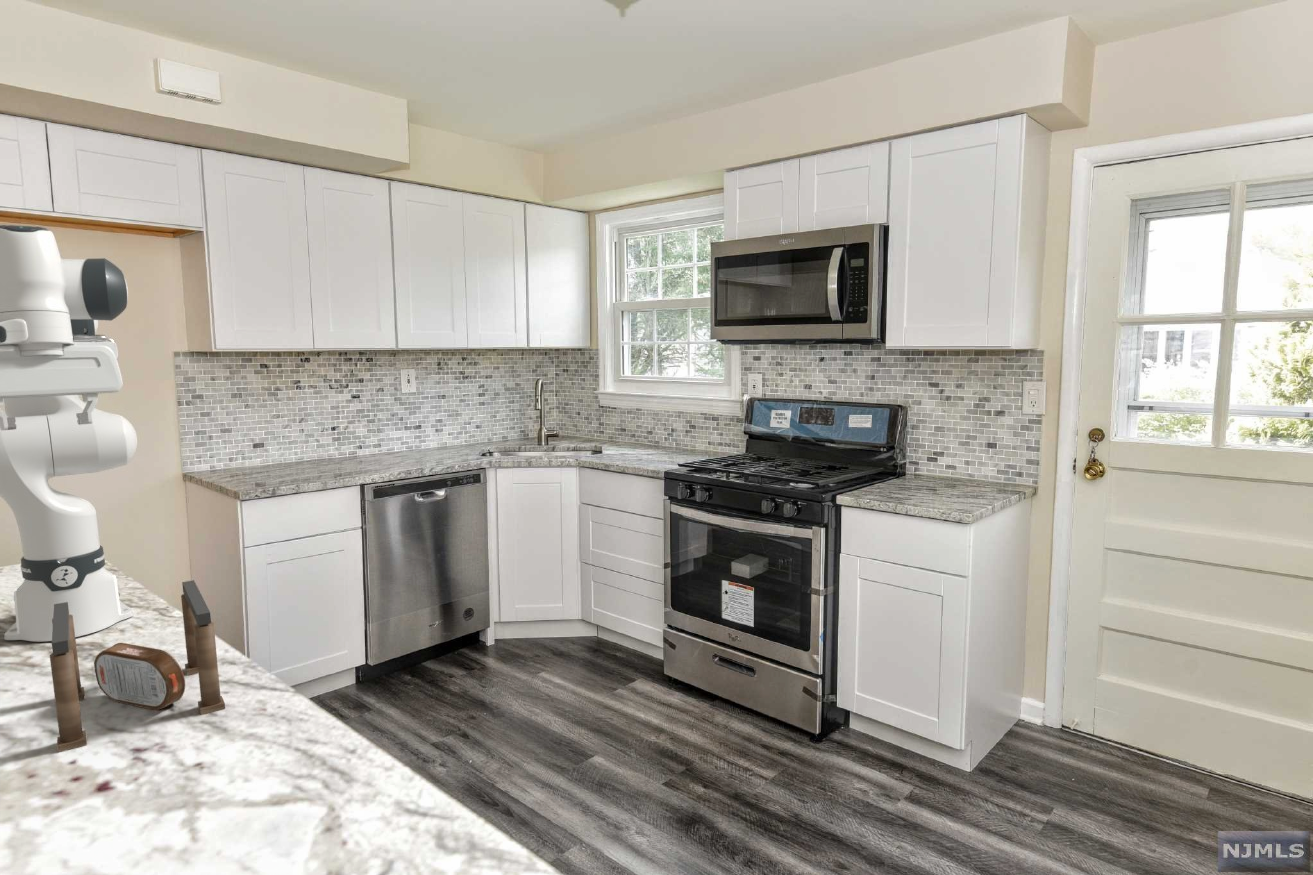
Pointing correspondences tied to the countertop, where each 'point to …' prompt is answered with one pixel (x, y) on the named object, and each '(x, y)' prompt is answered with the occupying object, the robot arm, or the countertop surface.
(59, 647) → the grey bar
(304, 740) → the countertop surface
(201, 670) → the wooden stanchion pair
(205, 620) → the dark grey beam
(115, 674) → the tin
